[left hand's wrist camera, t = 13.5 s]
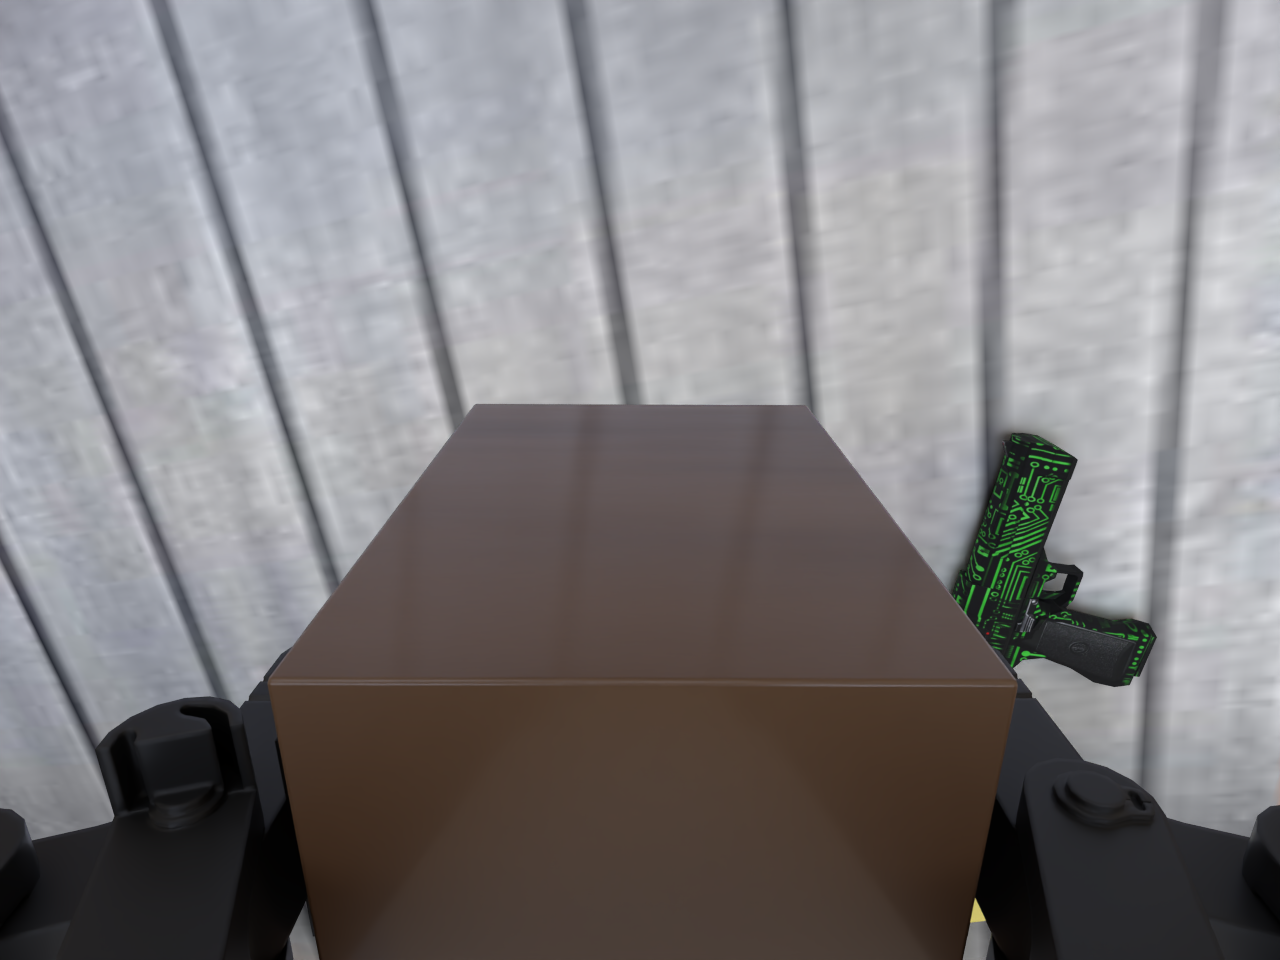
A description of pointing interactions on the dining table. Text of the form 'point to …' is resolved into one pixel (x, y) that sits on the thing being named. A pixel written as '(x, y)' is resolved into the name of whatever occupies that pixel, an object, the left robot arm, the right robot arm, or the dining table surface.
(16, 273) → the dining table surface
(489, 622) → the bar
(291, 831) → the left robot arm
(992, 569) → the handgun
